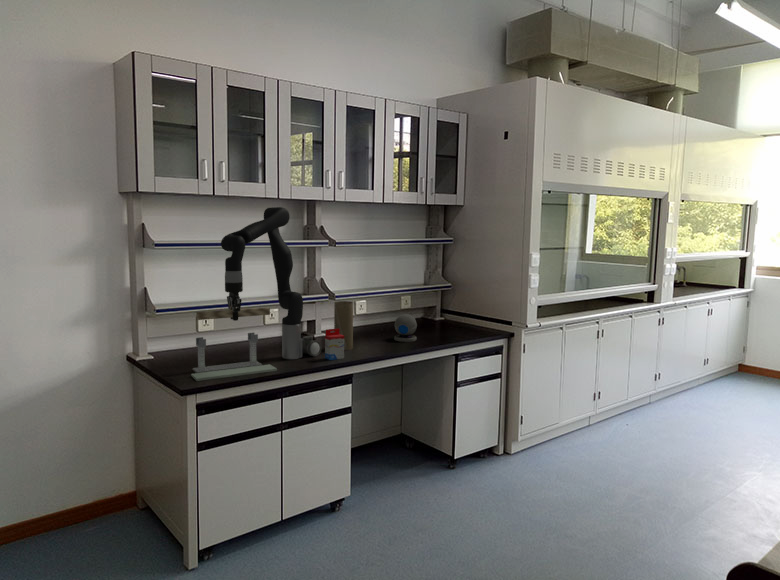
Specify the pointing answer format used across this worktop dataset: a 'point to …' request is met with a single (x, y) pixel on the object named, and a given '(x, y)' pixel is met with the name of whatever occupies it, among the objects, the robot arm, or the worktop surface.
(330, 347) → the ink box
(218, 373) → the mat
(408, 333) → the webcam
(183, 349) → the worktop surface
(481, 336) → the worktop surface
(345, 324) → the tube
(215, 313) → the rail
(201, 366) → the hook stand
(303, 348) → the pipe fitting
